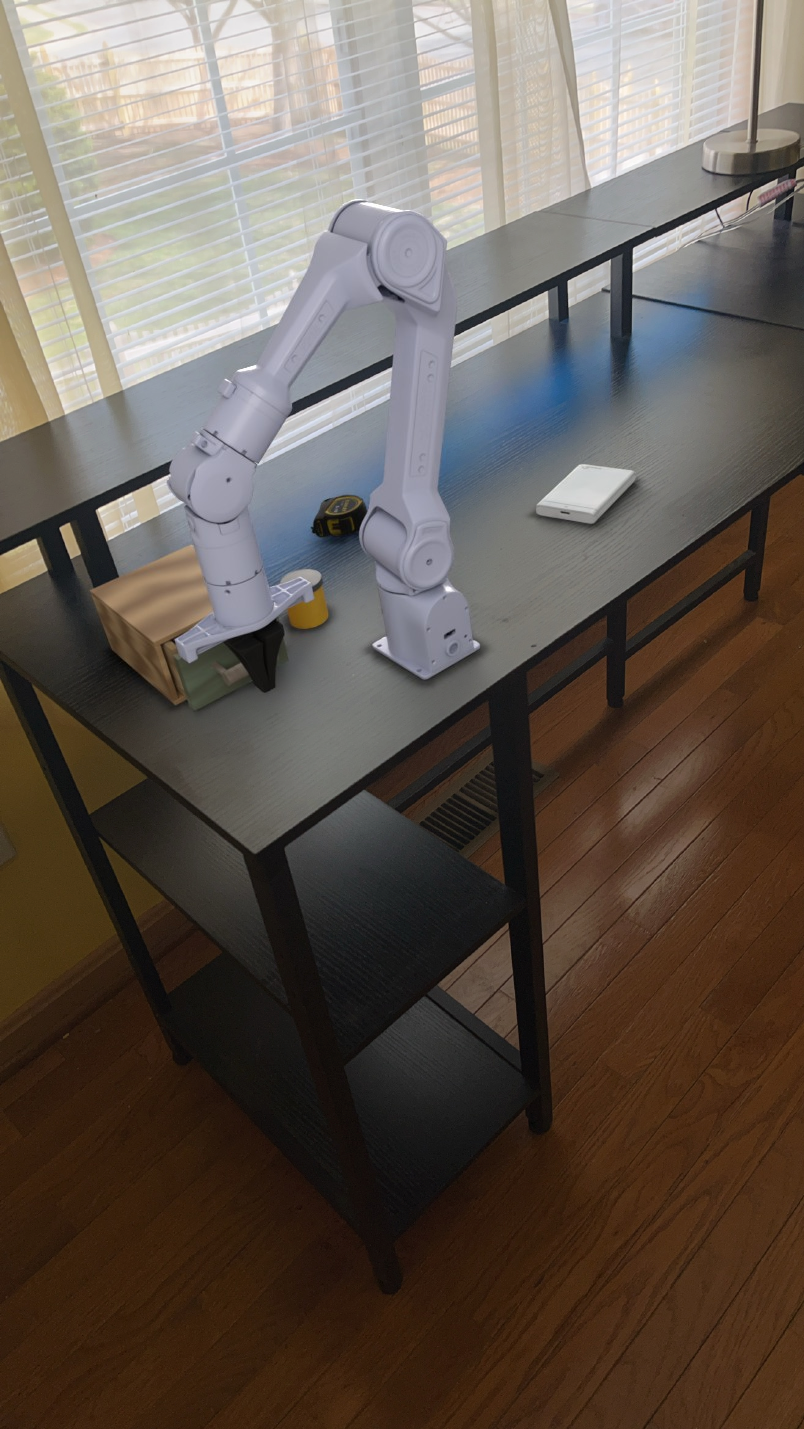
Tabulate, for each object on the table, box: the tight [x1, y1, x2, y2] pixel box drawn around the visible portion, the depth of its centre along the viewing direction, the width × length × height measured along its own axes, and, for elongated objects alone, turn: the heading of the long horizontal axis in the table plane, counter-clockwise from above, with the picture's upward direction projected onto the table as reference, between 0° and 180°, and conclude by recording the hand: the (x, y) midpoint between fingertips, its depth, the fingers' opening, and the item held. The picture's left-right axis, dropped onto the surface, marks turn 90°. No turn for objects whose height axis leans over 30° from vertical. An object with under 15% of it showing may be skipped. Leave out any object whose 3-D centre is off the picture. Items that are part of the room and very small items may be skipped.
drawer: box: [160, 615, 290, 712], centre depth 112 cm, size 20×12×7 cm, turn 39°
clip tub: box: [279, 568, 329, 630], centre depth 119 cm, size 5×5×5 cm
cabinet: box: [89, 544, 213, 706], centre depth 116 cm, size 16×13×8 cm
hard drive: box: [535, 463, 636, 525], centre depth 134 cm, size 2×8×12 cm
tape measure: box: [310, 494, 368, 538], centre depth 136 cm, size 7×7×4 cm
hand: (265, 686), depth 105 cm, fingers closed, pressing on drawer
